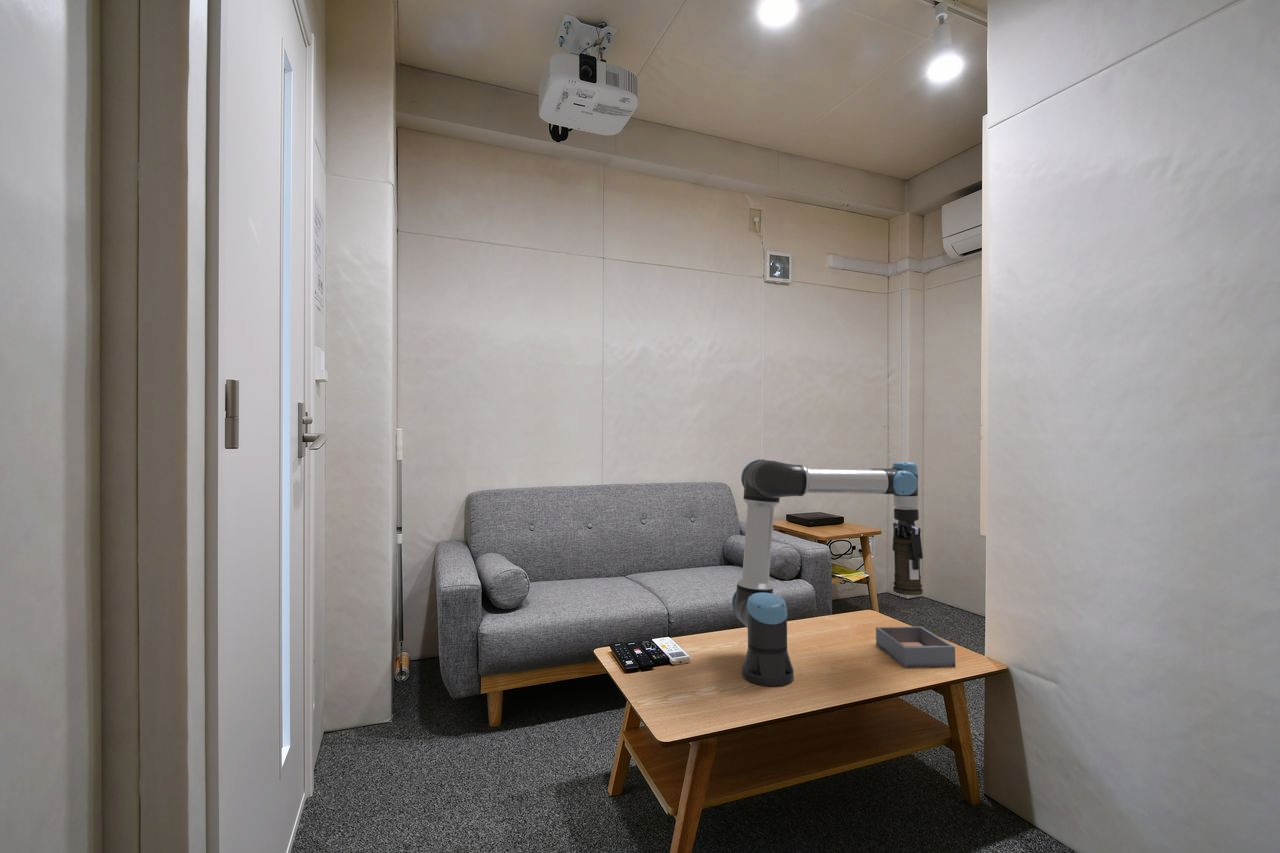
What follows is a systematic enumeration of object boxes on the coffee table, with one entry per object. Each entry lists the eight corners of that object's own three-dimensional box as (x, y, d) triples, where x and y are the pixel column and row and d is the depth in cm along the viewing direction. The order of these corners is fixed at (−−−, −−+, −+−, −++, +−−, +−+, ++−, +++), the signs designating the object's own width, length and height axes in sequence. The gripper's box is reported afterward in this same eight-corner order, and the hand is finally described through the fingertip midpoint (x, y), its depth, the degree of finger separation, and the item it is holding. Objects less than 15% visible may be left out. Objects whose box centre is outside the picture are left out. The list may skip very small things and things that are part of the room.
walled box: (904, 667, 178) (904, 648, 178) (876, 644, 198) (875, 627, 198) (955, 666, 179) (955, 646, 179) (921, 643, 199) (921, 626, 199)
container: (919, 597, 186) (918, 541, 186) (890, 592, 191) (889, 538, 192) (925, 591, 193) (924, 537, 193) (896, 587, 198) (895, 535, 199)
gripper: (934, 511, 183) (935, 583, 182) (901, 504, 203) (903, 569, 203) (910, 512, 182) (912, 584, 182) (880, 504, 203) (882, 569, 203)
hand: (907, 576), depth 192 cm, fingers closed on container, 8 cm apart
